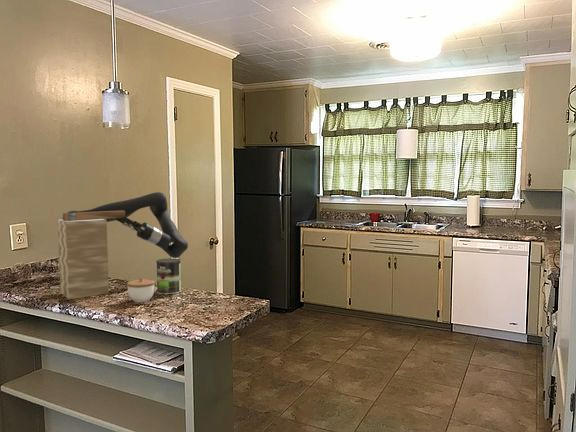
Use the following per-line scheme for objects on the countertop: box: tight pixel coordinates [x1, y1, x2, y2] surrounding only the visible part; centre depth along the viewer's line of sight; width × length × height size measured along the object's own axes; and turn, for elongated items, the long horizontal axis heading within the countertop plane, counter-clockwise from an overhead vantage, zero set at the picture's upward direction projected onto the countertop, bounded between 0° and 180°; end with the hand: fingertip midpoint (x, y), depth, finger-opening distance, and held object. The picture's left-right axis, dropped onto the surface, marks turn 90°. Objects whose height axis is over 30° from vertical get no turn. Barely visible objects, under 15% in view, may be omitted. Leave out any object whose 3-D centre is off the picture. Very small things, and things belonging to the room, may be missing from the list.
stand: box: [57, 219, 110, 300], centre depth 202 cm, size 14×16×32 cm
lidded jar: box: [126, 277, 156, 304], centre depth 190 cm, size 11×11×9 cm
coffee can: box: [155, 257, 182, 296], centre depth 204 cm, size 10×10×14 cm
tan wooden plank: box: [62, 211, 125, 221], centre depth 204 cm, size 5×25×3 cm, turn 130°
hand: (119, 217), depth 211 cm, fingers open, 8 cm apart
